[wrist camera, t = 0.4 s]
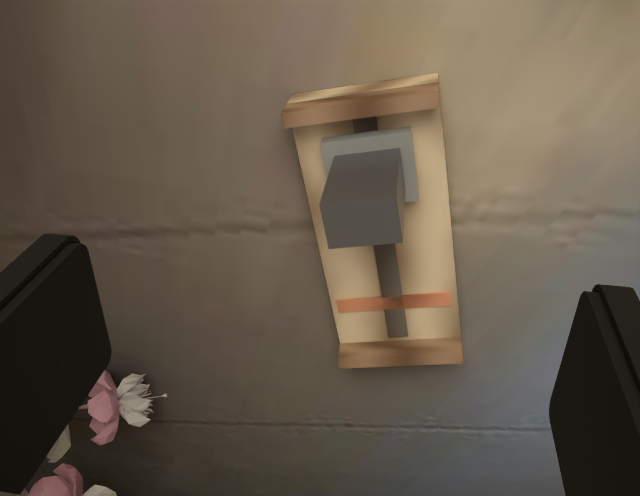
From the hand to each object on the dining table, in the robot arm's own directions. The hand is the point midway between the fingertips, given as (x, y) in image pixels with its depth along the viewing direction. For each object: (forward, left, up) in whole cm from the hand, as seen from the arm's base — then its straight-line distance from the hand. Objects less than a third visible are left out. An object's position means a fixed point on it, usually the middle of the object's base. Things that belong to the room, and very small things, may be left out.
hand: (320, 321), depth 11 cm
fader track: (-2, -15, -31) cm, 35 cm away
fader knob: (-2, -9, -29) cm, 30 cm away
